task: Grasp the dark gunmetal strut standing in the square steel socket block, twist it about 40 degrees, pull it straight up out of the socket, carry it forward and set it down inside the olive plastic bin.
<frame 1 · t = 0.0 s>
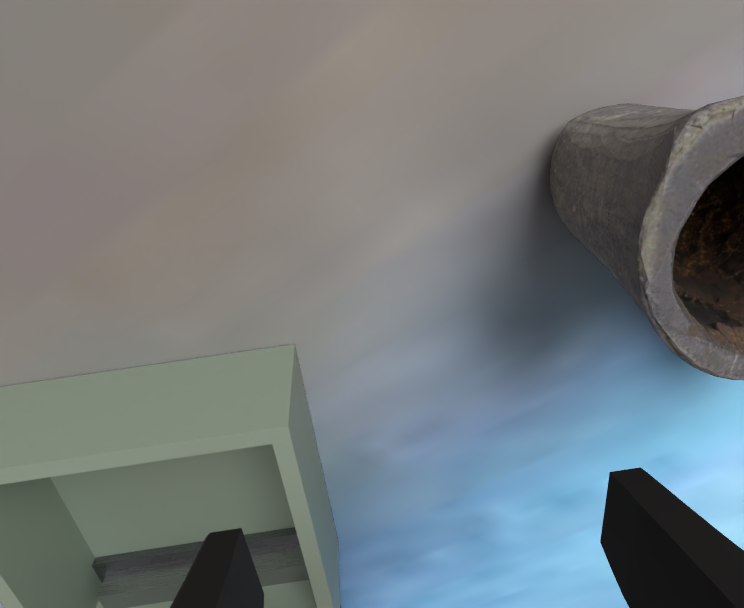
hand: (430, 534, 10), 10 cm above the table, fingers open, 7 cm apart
bin: (188, 473, 22), on the table
socket block: (235, 595, 26), on the table
pipe: (651, 206, 19), on the table
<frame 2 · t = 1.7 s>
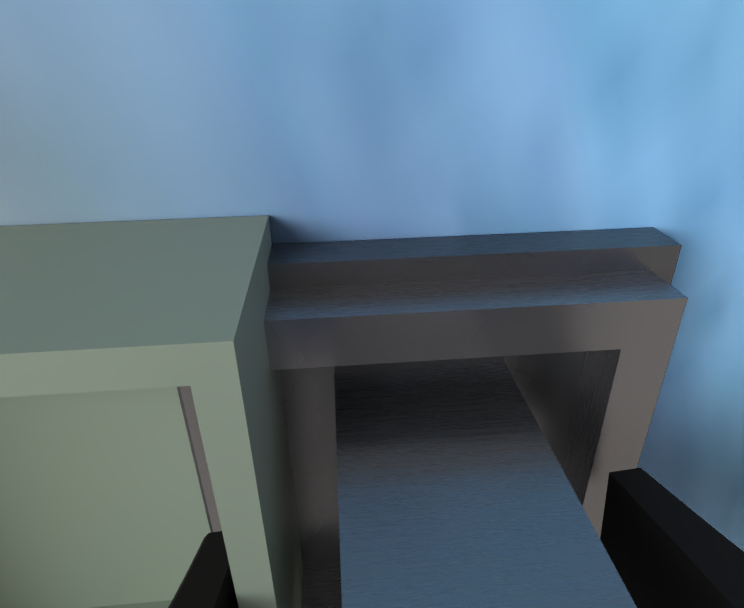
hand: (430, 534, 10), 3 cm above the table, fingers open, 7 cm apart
bin: (55, 452, 13), on the table
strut: (417, 457, 12), point 1 cm above the table, touching socket block
socket block: (411, 428, 13), on the table
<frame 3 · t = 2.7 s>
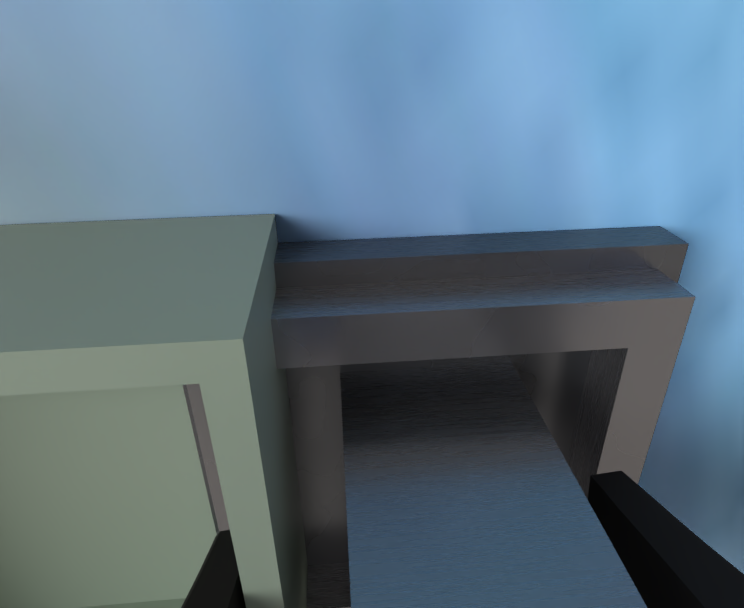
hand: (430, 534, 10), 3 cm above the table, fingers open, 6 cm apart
bin: (60, 451, 13), on the table
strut: (422, 456, 12), point 1 cm above the table, touching socket block
socket block: (416, 427, 13), on the table
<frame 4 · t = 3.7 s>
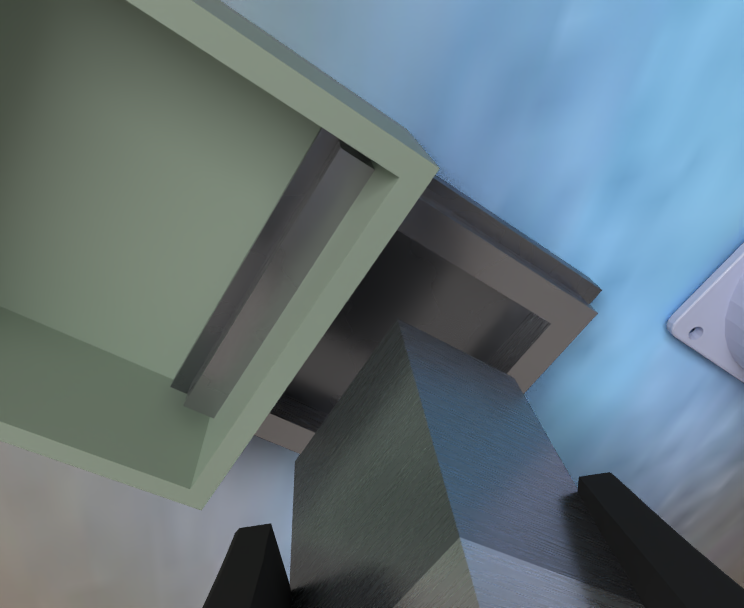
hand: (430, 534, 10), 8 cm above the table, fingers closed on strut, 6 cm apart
bin: (134, 191, 15), on the table
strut: (402, 420, 14), point 5 cm above the table, touching gripper
socket block: (381, 323, 18), on the table
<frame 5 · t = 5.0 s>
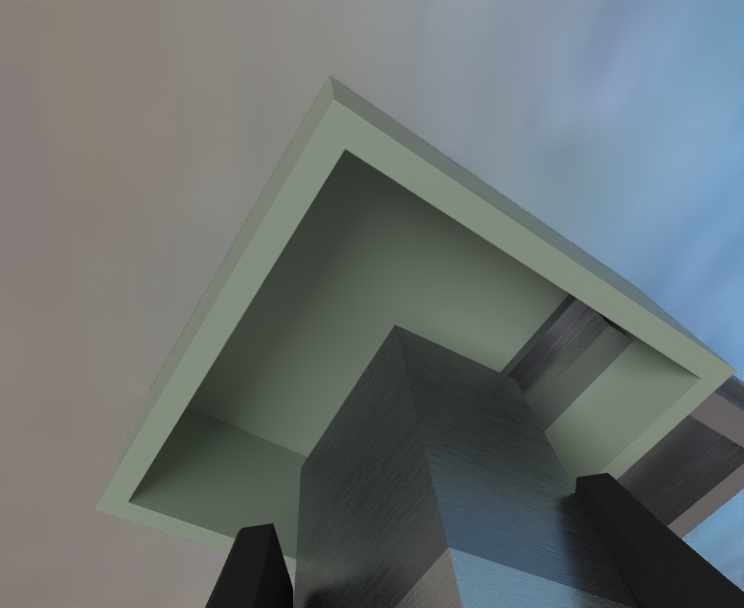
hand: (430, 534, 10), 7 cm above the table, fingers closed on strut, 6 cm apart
bin: (389, 340, 17), on the table
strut: (405, 425, 14), point 4 cm above the table, touching gripper
socket block: (578, 439, 19), on the table
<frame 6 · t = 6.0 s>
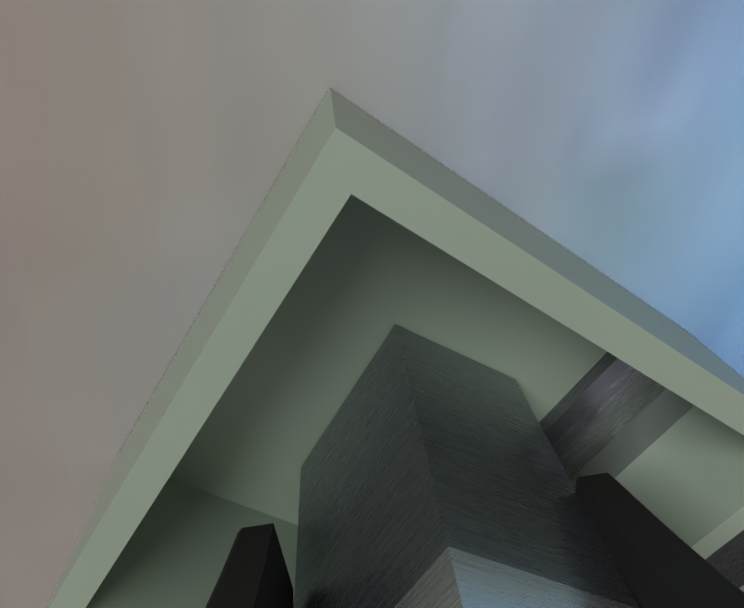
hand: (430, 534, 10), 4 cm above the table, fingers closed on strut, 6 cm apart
bin: (399, 396, 14), on the table
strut: (405, 424, 14), point 1 cm above the table, touching gripper
socket block: (615, 500, 17), on the table
when the fingers open (4 cm above the table, at t = 6.1 s): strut stays where it is, resting on bin.
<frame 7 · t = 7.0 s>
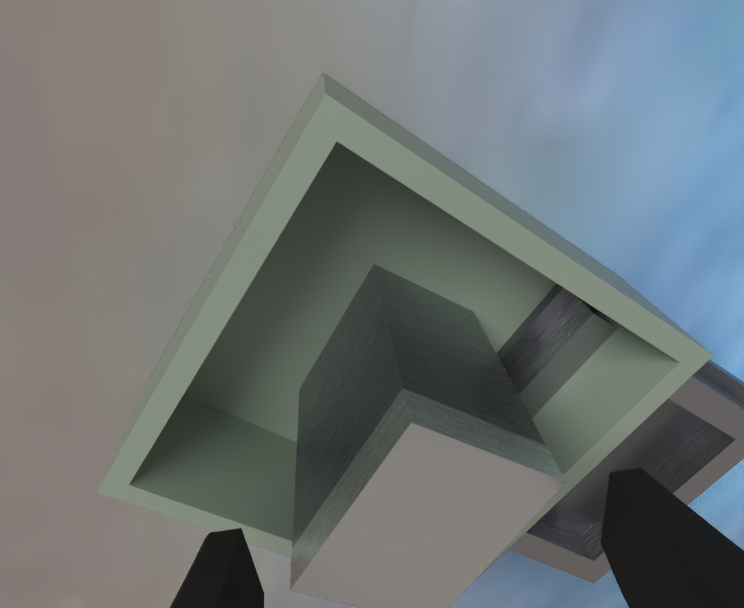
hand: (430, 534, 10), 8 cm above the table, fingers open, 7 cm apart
bin: (382, 330, 17), on the table
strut: (384, 351, 17), point 1 cm above the table, touching bin
socket block: (567, 427, 20), on the table
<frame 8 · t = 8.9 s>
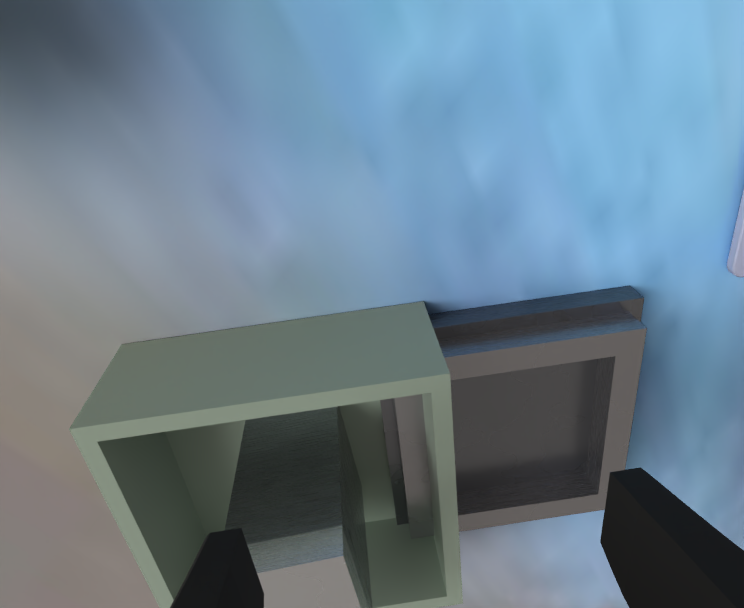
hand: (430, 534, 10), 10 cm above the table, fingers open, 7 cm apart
bin: (300, 437, 22), on the table
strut: (307, 452, 22), point 1 cm above the table, touching bin
socket block: (500, 407, 22), on the table
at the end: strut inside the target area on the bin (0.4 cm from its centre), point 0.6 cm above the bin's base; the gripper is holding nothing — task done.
